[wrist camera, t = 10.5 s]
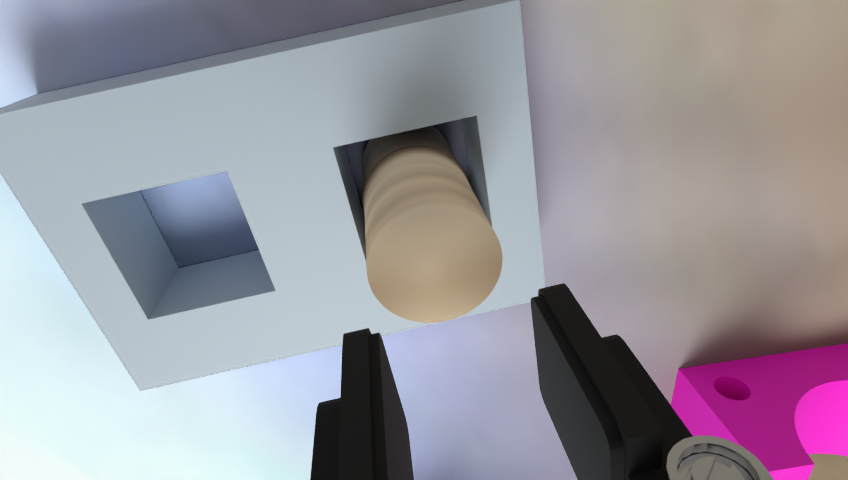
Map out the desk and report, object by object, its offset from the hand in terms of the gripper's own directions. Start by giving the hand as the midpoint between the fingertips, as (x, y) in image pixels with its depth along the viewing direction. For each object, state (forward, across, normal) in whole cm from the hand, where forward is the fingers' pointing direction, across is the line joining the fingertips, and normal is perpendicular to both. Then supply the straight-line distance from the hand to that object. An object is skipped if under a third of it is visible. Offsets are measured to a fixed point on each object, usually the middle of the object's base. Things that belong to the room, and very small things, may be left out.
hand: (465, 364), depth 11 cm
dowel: (+13, 0, 0) cm, 13 cm away
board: (+13, +4, 0) cm, 14 cm away
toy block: (+14, -20, +21) cm, 32 cm away
